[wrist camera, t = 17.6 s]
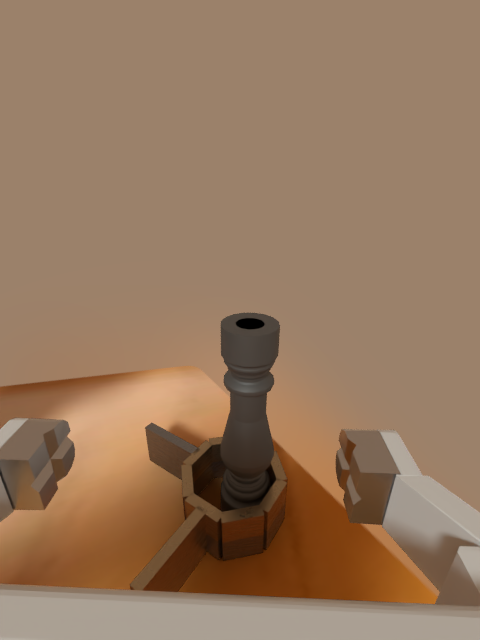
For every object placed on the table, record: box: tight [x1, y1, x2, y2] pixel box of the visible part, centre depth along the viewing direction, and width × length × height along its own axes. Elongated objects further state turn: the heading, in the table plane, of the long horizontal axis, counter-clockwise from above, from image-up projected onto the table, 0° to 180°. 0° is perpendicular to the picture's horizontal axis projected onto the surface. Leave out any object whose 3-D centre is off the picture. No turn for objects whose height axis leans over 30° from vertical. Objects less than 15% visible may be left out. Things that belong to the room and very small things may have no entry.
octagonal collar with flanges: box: [130, 423, 287, 592], centre depth 39 cm, size 20×20×6 cm
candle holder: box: [220, 313, 280, 512], centre depth 36 cm, size 6×6×25 cm
